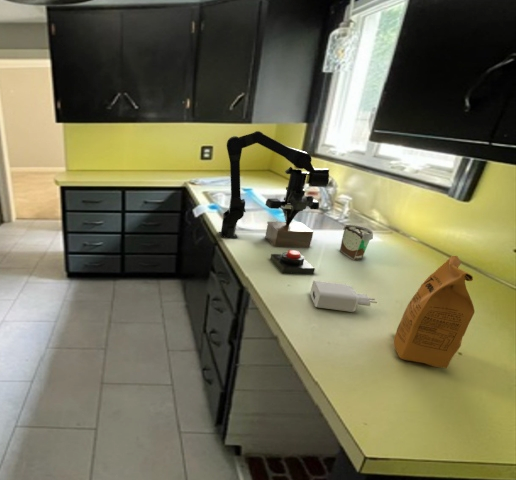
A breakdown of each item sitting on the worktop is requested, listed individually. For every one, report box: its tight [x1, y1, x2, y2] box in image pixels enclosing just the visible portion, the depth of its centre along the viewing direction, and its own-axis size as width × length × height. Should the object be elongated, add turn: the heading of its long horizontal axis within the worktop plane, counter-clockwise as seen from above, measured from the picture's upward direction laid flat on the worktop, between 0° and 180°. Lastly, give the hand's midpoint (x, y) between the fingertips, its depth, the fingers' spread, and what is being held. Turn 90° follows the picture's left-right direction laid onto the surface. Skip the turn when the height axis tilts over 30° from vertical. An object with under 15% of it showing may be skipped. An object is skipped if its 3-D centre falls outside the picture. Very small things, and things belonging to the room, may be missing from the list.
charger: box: [309, 280, 378, 313], centre depth 100 cm, size 5×9×15 cm
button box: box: [269, 251, 316, 275], centre depth 124 cm, size 12×10×4 cm
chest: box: [264, 224, 314, 248], centre depth 145 cm, size 11×13×6 cm
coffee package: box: [393, 255, 475, 369], centre depth 77 cm, size 10×12×22 cm
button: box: [286, 249, 302, 259], centre depth 122 cm, size 4×4×2 cm
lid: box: [266, 221, 314, 234], centre depth 144 cm, size 12×13×1 cm
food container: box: [339, 224, 374, 261], centre depth 132 cm, size 12×6×10 cm, turn 179°
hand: (287, 224), depth 146 cm, fingers closed, pressing on lid
